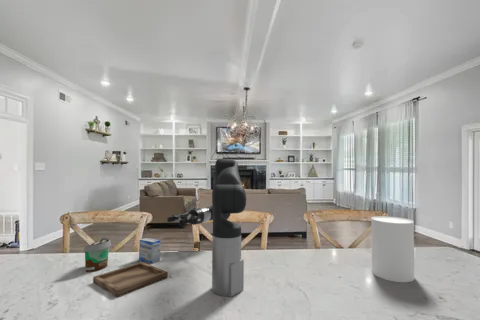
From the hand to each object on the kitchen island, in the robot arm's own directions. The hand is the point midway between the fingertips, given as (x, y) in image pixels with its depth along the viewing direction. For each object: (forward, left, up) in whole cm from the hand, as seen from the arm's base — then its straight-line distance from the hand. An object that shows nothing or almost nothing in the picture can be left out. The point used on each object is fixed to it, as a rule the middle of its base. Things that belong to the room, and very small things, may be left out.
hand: (173, 221), depth 120 cm
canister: (-82, -35, -15) cm, 90 cm away
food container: (+8, +28, -15) cm, 33 cm away
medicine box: (0, +12, -15) cm, 19 cm away
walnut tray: (-12, +27, -14) cm, 33 cm away
